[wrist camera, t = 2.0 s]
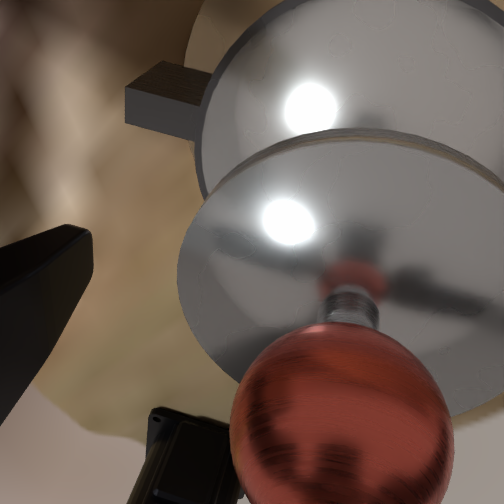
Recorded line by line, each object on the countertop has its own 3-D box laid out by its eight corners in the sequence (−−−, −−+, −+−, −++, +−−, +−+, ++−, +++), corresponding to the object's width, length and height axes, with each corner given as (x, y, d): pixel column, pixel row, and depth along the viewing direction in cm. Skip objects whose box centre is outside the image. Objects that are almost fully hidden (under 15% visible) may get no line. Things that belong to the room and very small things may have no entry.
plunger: (447, 434, 10) (475, 696, 7) (176, 351, 10) (77, 559, 7) (640, 193, 6) (914, 511, 3) (208, 80, 7) (35, 250, 3)
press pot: (469, 307, 18) (486, 389, 15) (161, 219, 19) (118, 279, 16) (710, -61, 11) (837, -47, 8) (188, -176, 12) (118, -202, 9)
